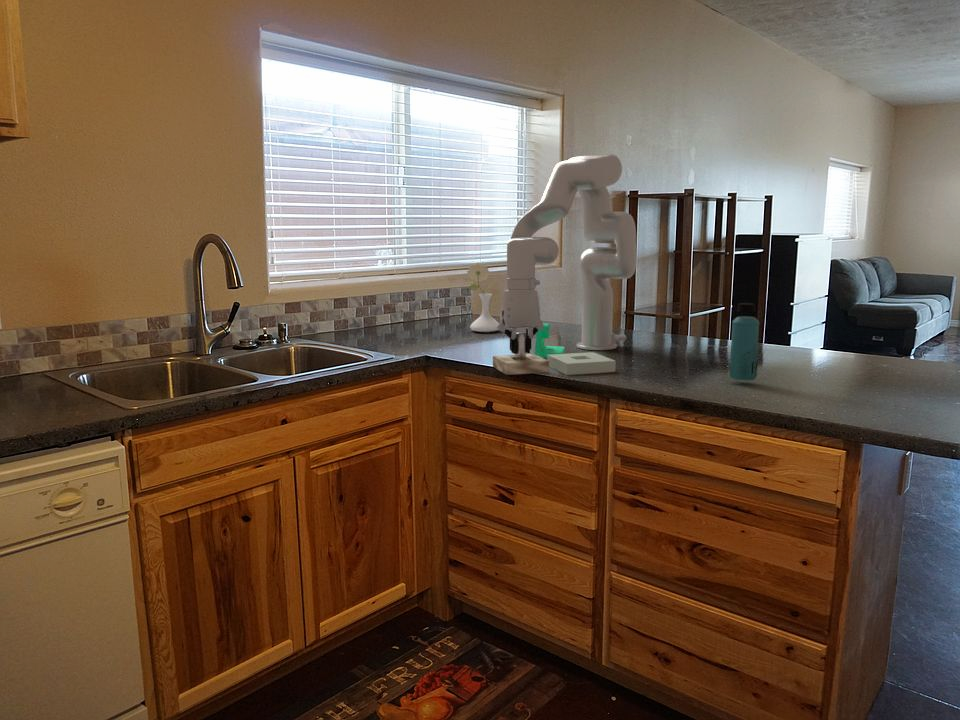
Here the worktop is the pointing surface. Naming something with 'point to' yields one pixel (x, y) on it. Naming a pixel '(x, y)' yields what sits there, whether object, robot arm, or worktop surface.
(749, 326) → the beverage bottle
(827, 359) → the worktop surface
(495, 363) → the block
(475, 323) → the flower in vase
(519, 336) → the steel pin
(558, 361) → the dock block
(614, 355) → the worktop surface
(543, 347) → the camera mount
